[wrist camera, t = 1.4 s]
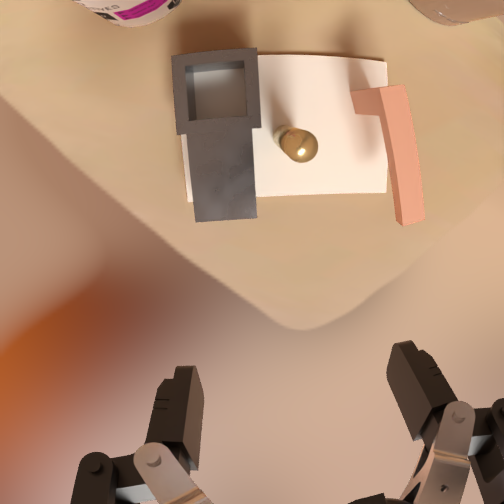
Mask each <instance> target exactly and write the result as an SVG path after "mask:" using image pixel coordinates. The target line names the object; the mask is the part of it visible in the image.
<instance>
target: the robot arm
mask: <svg viewBox="0 0 504 504" xmlns="http://www.w3.org/2000/svg"><path fill="white" fill-rule="evenodd" d="M409 1H410V2H411V3H412V4H413V5H414V6H415V7H416V8H417V9H418V10H419V11H420V12H421V13H423V14H424V15H425V16H426V17H428V18H430V19H431V20H433V21H435V22H438V23H440V24H444V25H448V26H451V25H459V24H464V23H469V22H471V21H475V20H480V19H485V18H490V17H495V16H500V15H504V0H409ZM386 373H387V380H388V382H389V385H390V387H391V390H392V392H393V394H394V396H395V399H396V401H397V403H398V406H399V408H400V410H401V413H402V415H403V418H404V420H405V422H406V425H407V427H408V429H409V432H410V434H411V437H412V439H413V441H416V440H419V439H423V441H424V444H423V446H422V449H421V452H420V455H419V457H418V460H417V463H416V465H415V468H414V471H413V473H412V476H411V478H410V480H409V482H408V484H407V486H406V488H405V489H404V491H403V493H402V495H401V496H400V498H399V499H391V498H385V496H384V493H381V494H378V495H374V496H370V497H367V498H362V499H358V500H355V501H353V502H351V503H348V504H460V501H461V498H462V495H463V492H464V488H465V485H466V481H467V478H468V474H469V470H470V465H471V467H472V469H473V472H474V475H475V478H476V480H477V483H478V486H479V489H480V492H481V495H482V498H483V501H484V504H504V459H503V458H504V398H502V399H498V400H496V402H494V404H493V405H492V407H491V408H478V409H473V408H472V407H471V406H470V405H469V404H468V403H466V402H463V401H458V399H457V398H456V396H455V394H454V393H453V391H452V389H451V388H450V386H449V384H448V382H447V381H446V379H445V377H444V375H443V374H442V372H441V370H440V369H439V367H437V364H436V362H435V361H434V359H433V357H432V356H430V355H429V354H428V353H426V352H425V351H424V350H420V351H418V349H417V347H416V346H415V344H414V343H413V341H411V340H409V341H405V342H400V343H395V344H394V345H393V347H392V351H391V355H390V359H389V362H388V366H387V372H386ZM203 408H204V394H203V389H202V385H201V382H200V378H199V375H198V372H197V368H196V366H177V367H176V369H175V373H174V378H173V379H164V381H163V382H162V383H161V385H160V386H159V387H158V389H157V393H156V397H155V402H154V406H153V410H152V415H151V419H150V423H149V428H148V433H147V438H146V441H145V443H144V445H143V446H141V447H140V448H139V449H138V450H137V451H136V452H135V453H134V454H131V455H127V456H122V457H116V458H109V457H108V456H107V455H106V454H104V453H101V452H92V453H89V454H87V455H86V456H84V458H82V460H81V461H80V464H79V467H78V472H77V476H76V480H75V484H74V489H73V494H72V498H71V504H140V502H146V501H151V500H157V501H158V503H159V504H213V503H212V502H211V500H210V499H209V498H208V497H207V496H206V495H205V494H204V493H203V492H202V490H200V489H199V488H198V486H197V485H196V484H195V483H194V481H193V480H192V479H191V478H190V470H198V466H199V453H200V441H201V430H202V419H203ZM467 456H468V459H469V460H467Z"/></svg>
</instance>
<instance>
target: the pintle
mask: <svg viewBox="0 0 504 504" xmlns="http://www.w3.org/2000/svg"><path fill="white" fill-rule="evenodd" d="M273 141H274V143H275V144H276V145H277V146H278V147H279V148H280V149H281V150H282V151H283V152H284V153H285V154H286V155H287V156H288V157H289V158H290V159H292V160H293V161H295V162H298V163H305V162H309V161H310V160H312V159H313V158H314V157H315V156H316V154H317V152H318V141H317V139H316V137H315V136H314V135H313V134H312V133H311V132H309V131H306V130H303V129H299V128H296V127H292V126H289V125H281V126H279V127H277V128H276V129H275V131H274V133H273Z"/></svg>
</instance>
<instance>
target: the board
mask: <svg viewBox="0 0 504 504" xmlns="http://www.w3.org/2000/svg"><path fill="white" fill-rule="evenodd" d="M257 56H258V72H259V89H260V107H261V126H262V128H254V129H252V137H253V155H254V173H255V191H256V197H266V196H285V195H309V194H341V193H386V185H387V165H388V159H387V153H386V148H385V143H384V138H383V133H382V128H381V123H380V119H379V116H374V115H361V114H355V110H354V106H353V102H352V99H351V95H350V92H351V91H356V90H362V89H368V88H376V87H385V86H388V81H387V62H382V61H375V60H366V59H357V58H347V57H334V56H317V55H257ZM194 88H195V103H196V116H197V120H199V119H209V118H221V117H233V116H247V113H246V96H245V79H244V68H243V69H228V70H216V71H206V72H197V73H194ZM281 125H289V126H292V127H296V128H299V129H303V130H306V131H309V132H311V133H312V134H313V135H314V136H315V137H316V139H317V141H318V152H317V154H316V156H315V157H314V158H313V159H312V160H310V161H309V162H305V163H298V162H295V161H293V160H292V159H290V158H289V157H288V156H287V155H286V154H285V153H284V152H283V151H282V150H281V149H280V148H279V147H278V146H277V145H276V144H275V143H274V141H273V133H274V131H275V129H276V128H277V127H279V126H281ZM181 141H182V151H183V161H184V171H185V180H186V189H187V197H188V202H193V196H192V187H191V178H190V168H189V158H188V148H187V137H186V134H183V135H181Z"/></svg>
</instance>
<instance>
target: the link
mask: <svg viewBox="0 0 504 504" xmlns="http://www.w3.org/2000/svg"><path fill="white" fill-rule="evenodd" d="M171 60H172V77H173V92H174V105H175V118H176V129H177V135H183V134H186V137H187V148H188V158H189V168H190V178H191V187H192V196H193V205H194V213H195V221H196V222H207V221H221V220H236V219H251V218H257V210H256V191H255V173H254V155H253V137H252V129H254V128H262V126H261V107H260V89H259V72H258V56H257V48H243V49H227V50H216V51H206V52H197V53H189V54H182V55H175V56H171ZM243 68H244V79H245V96H246V113H247V116H233V117H221V118H209V119H199V120H197V116H196V103H195V88H194V73H197V72H206V71H216V70H228V69H243Z"/></svg>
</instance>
